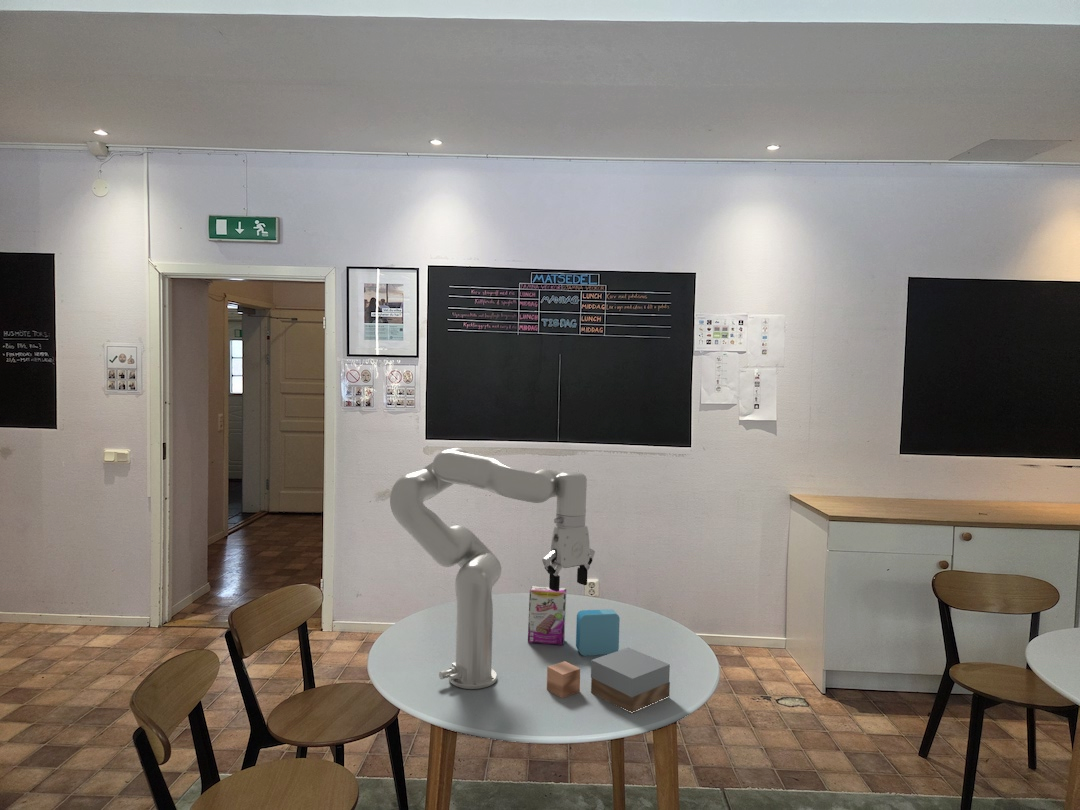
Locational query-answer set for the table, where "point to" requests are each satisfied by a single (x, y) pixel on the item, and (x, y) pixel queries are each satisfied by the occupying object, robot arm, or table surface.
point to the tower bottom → (627, 701)
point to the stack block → (563, 679)
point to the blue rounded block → (597, 632)
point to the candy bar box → (547, 615)
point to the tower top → (630, 671)
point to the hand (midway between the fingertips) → (568, 587)
